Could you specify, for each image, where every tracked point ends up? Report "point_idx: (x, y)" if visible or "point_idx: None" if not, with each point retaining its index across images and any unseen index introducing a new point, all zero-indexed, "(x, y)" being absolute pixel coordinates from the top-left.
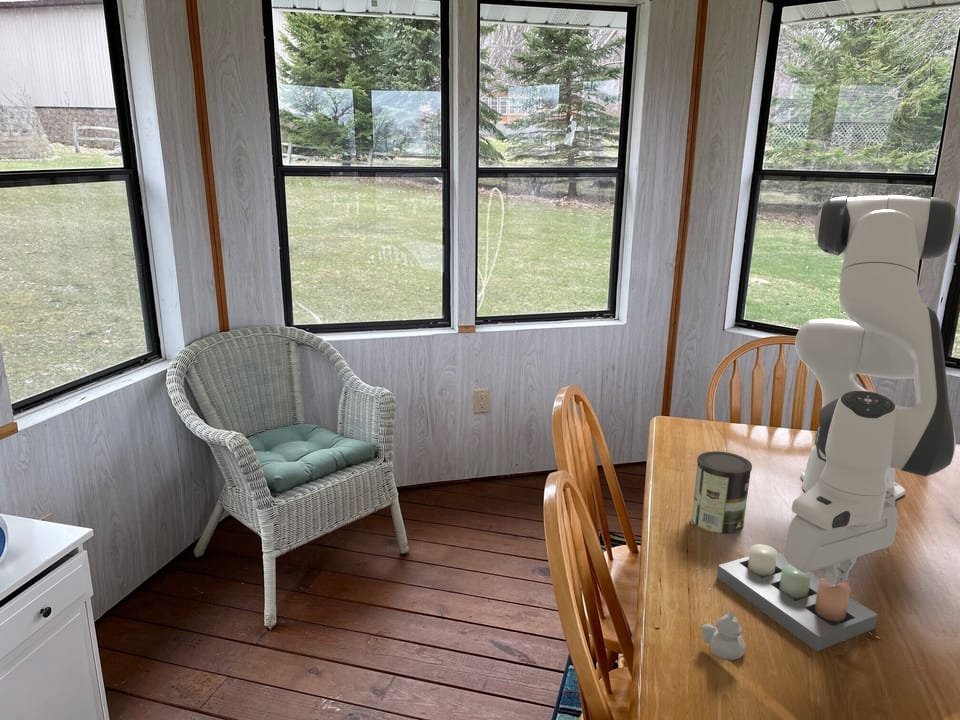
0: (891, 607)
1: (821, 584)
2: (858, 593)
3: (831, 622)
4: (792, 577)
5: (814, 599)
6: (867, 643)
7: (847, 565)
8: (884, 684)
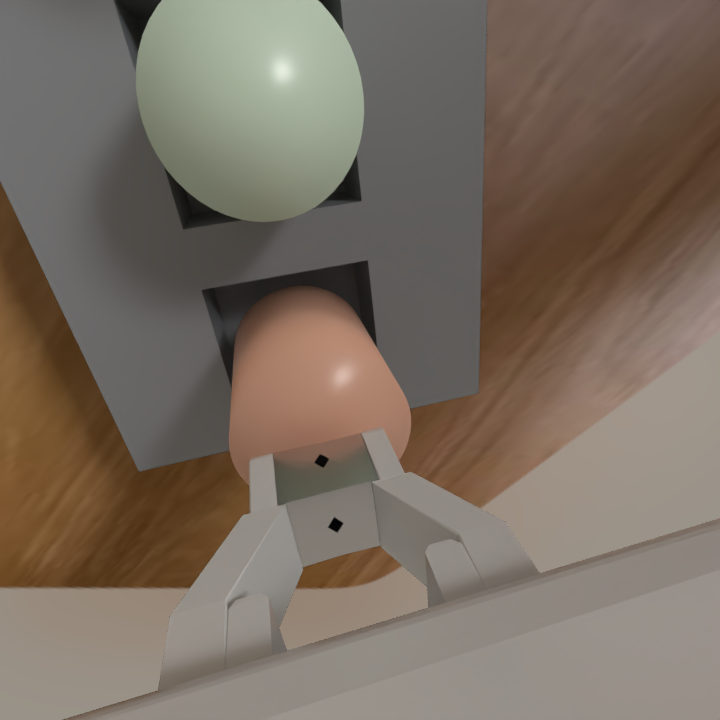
0: (626, 248)
1: (236, 425)
2: (614, 130)
3: None
4: (172, 169)
5: (303, 242)
6: None
7: (421, 568)
8: None
